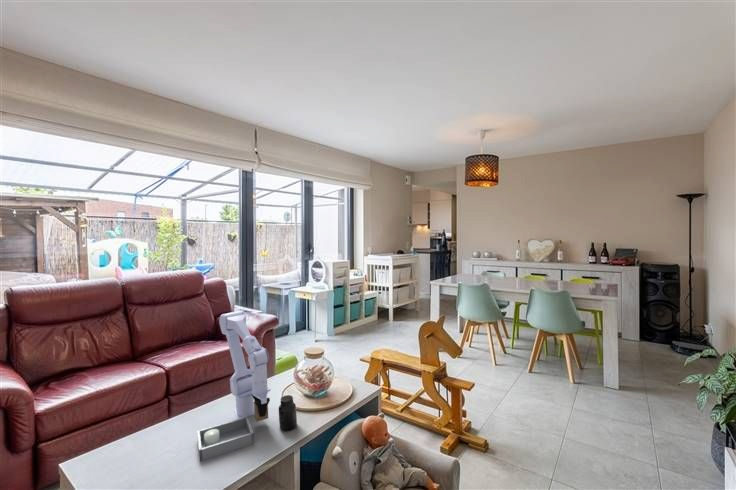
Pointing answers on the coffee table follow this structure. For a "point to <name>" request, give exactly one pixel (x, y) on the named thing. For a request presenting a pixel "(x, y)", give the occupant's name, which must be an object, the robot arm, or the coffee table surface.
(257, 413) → the walnut block
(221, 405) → the coffee table surface
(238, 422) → the tote
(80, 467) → the coffee table surface
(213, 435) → the pale green cylinder
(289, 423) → the supplement bottle
